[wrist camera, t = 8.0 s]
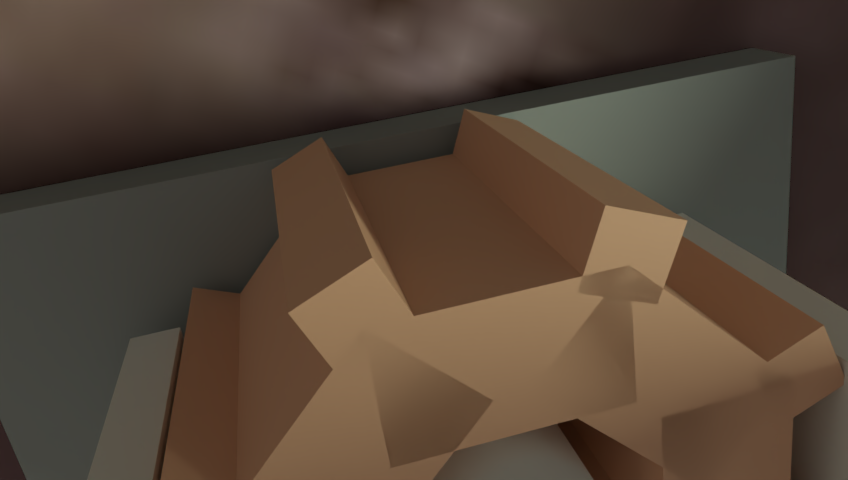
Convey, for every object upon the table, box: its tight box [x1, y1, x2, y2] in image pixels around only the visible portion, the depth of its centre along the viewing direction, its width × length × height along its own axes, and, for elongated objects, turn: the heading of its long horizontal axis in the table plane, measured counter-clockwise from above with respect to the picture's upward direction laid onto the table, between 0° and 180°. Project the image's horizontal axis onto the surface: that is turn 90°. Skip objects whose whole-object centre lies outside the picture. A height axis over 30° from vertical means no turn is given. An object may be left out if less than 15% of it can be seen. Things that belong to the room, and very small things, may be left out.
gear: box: [161, 109, 844, 480], centre depth 11 cm, size 8×8×5 cm
